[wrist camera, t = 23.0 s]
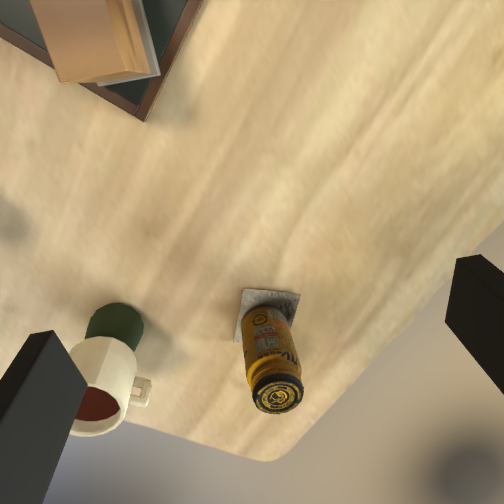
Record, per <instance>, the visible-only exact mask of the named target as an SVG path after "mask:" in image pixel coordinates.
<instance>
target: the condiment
mask: <svg viewBox="0 0 504 504" xmlns="http://www.w3.org/2000/svg"><path fill="white" fill-rule="evenodd" d="M299 299H300V294H294V293H286V292H278V291H269V290H257V289H245V288H244V290H243V295H242V300H241V305H240V310H239V315H238V319H237V324H236V329H235V334H234V340H233V342H238V343H243V352H244V358H245V368H246V377H247V381H248V384H249V386H250V387H251V391H252V397H253V401H254V403H255V405H256V407H257V408H258V409H259V410H261V411H263V412H265V413H269V414H281V413H285V412H288V411H290V410H292V409H294V408H295V407H296V406H297V405H298V404H299V403H300V402H301V400H302V398H303V393H304V390H303V389H304V387H303V386H302V383H301V365H300V362H299V359H298V356H297V353H296V349H295V346H294V343H293V340H292V336H291V333H290V329H291V325H292V322H293V319H294V316H295V312H296V308H297V305H298V302H299Z"/></svg>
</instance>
